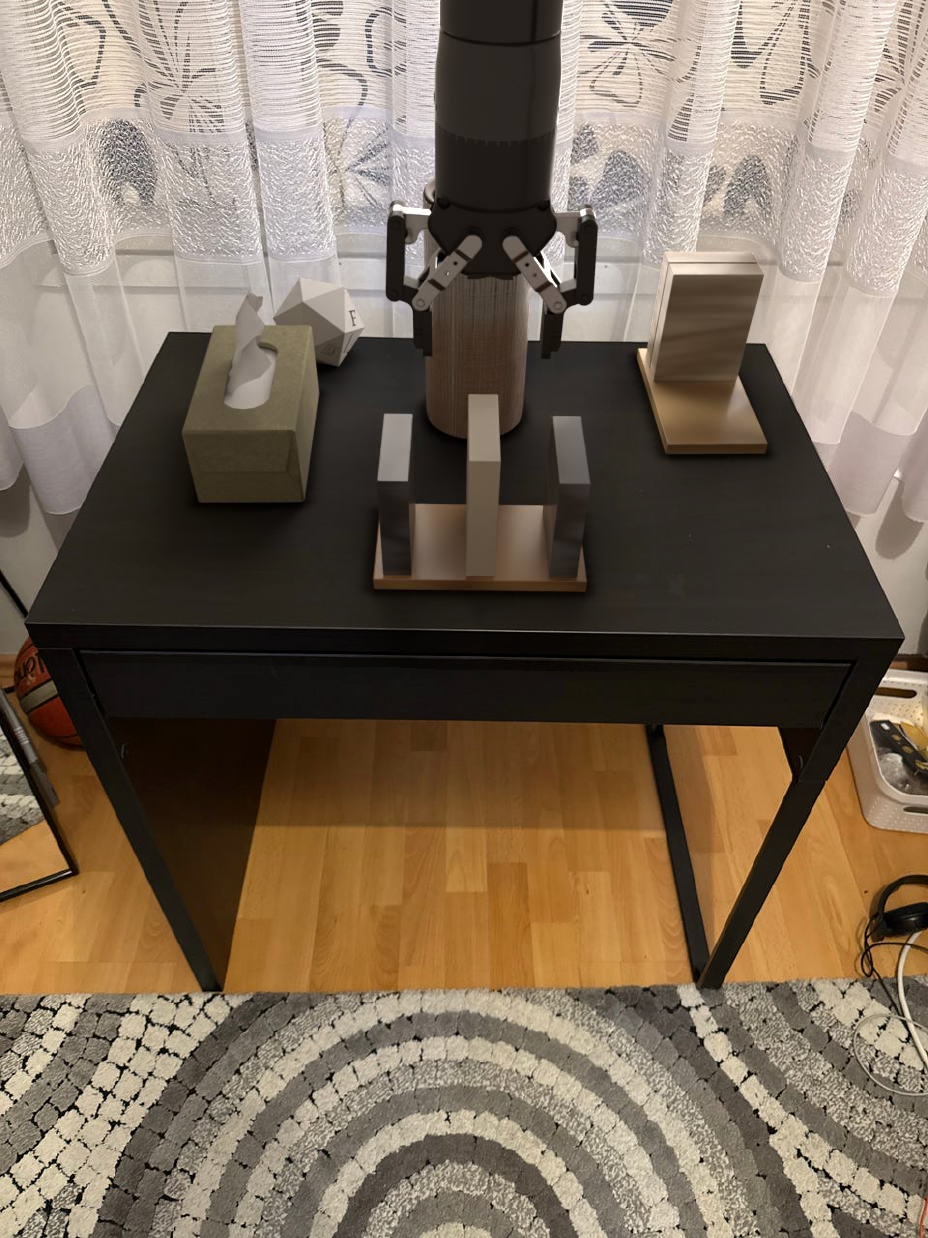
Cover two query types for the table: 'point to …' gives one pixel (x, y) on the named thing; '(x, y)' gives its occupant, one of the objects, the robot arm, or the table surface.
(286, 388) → the tissue box
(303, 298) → the die
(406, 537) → the grey book rack
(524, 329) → the planter
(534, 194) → the robot arm
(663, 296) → the cream book rack
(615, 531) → the table surface
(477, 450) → the cream book
